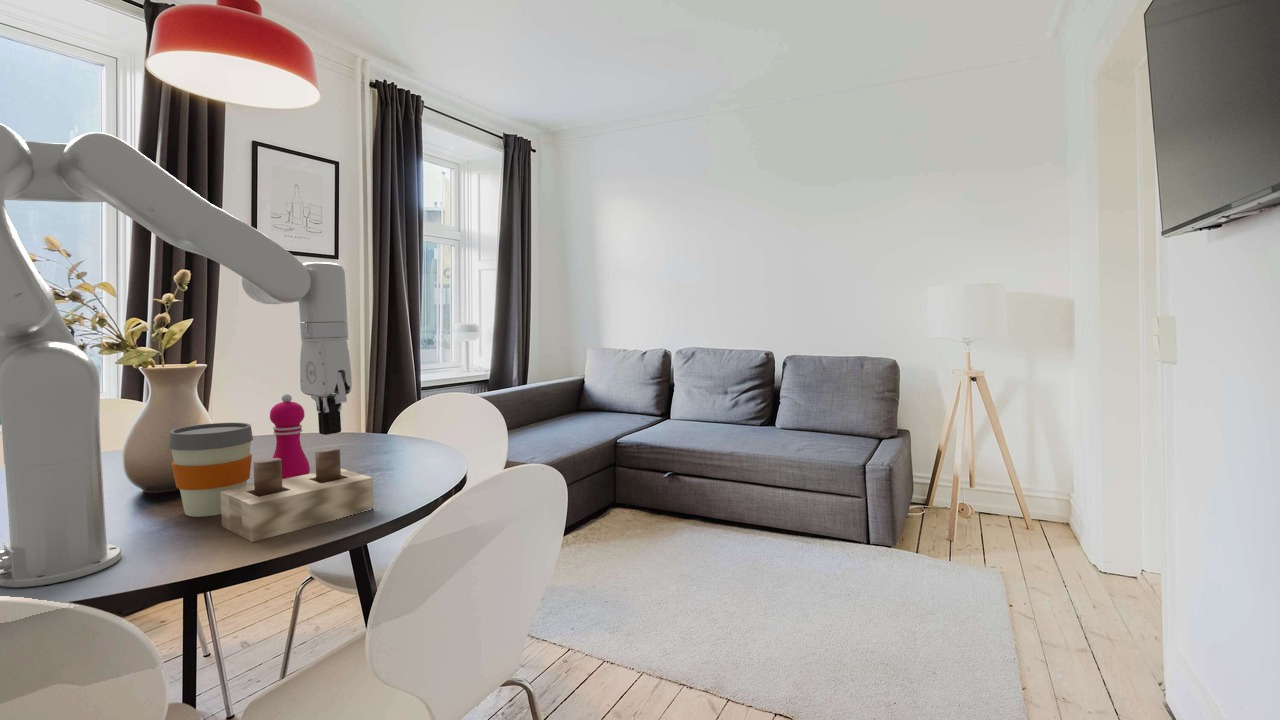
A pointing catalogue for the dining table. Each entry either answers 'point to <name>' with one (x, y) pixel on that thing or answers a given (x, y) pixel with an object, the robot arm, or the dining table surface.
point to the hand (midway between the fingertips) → (330, 433)
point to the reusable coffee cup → (210, 463)
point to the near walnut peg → (267, 476)
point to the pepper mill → (289, 437)
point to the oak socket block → (294, 505)
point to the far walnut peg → (328, 465)
